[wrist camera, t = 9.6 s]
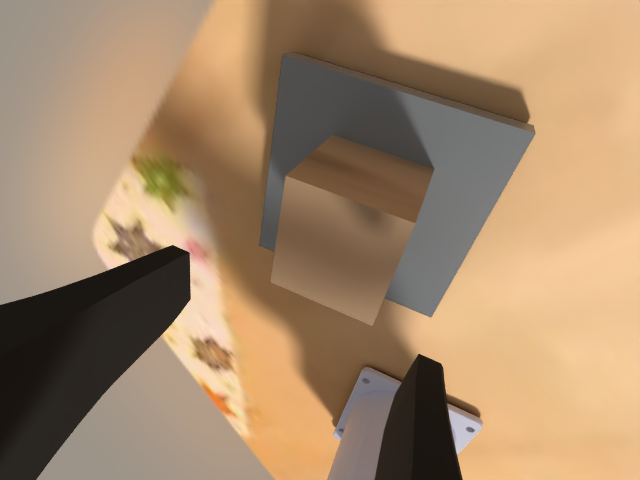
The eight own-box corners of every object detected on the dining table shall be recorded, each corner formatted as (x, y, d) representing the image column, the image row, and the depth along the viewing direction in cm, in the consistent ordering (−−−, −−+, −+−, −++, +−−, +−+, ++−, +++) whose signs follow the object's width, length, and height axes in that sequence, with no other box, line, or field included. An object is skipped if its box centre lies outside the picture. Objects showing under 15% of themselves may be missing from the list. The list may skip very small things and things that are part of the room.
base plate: (433, 304, 20) (431, 317, 19) (267, 236, 22) (259, 245, 21) (533, 125, 14) (535, 133, 13) (293, 51, 16) (282, 54, 15)
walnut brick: (396, 260, 18) (372, 326, 15) (312, 227, 19) (270, 282, 16) (434, 168, 15) (415, 223, 12) (332, 134, 16) (285, 175, 13)
